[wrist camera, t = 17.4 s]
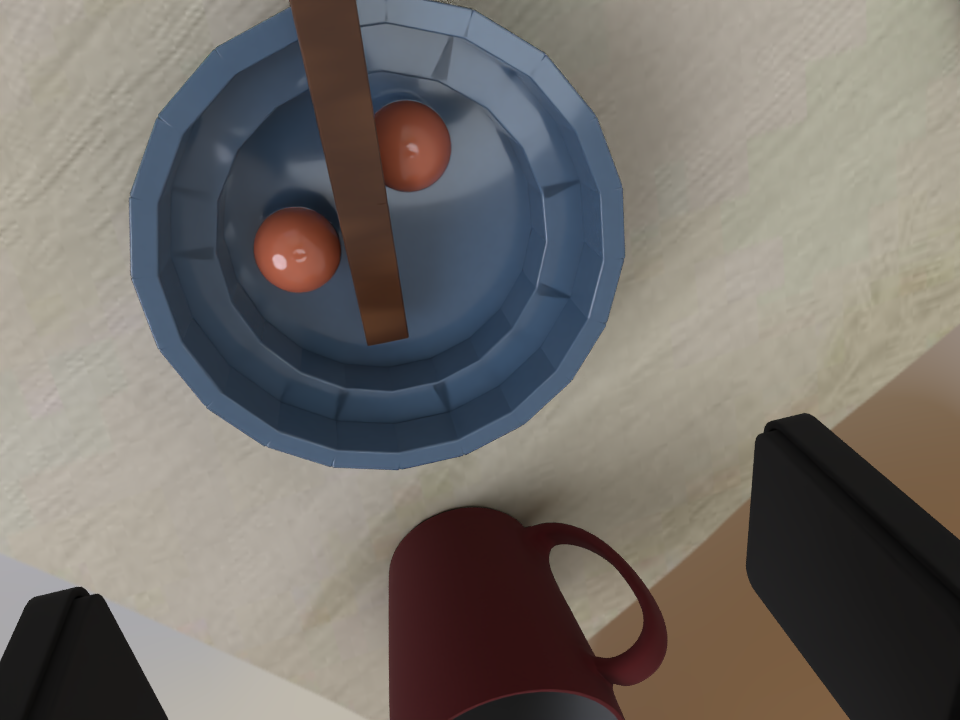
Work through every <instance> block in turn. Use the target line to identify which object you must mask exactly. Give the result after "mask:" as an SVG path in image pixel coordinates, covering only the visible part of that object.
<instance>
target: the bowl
mask: <svg viewBox="0 0 960 720" xmlns="http://www.w3.org/2000/svg"><path fill="white" fill-rule="evenodd" d="M356 3H357V9H358V15H359V22H360V28H361V34H362V41H363V47H364V53H365V60H366V66H367V73H368V79H369V85H370V92H371V98H372V104H373V111H374V113H375V112H376V111H377V110H378V109H379V108H381V107H382V106H383V105H385V104H387V103H390V102H392V101H396V100H402V99H407V100H416V101H419V102H422V103H424V104H426V105H428V106H430V107H431V108H433V109H434V110H435V111H436V112H437V113H438V114H439V115H440V116H441V117H442V118H443V120H444V122H445V123H446V125H447V127H448V129H449V132H450V136H451V141H452V153H451V159H450V162H449V165H448V167H447V169H446V171H445V173H444V174H443V176H442V177H441V178H440V179H439V180H438V181H437V182H436V183H435V184H433V185H432V186H431V187H429V188H427V189H425V190H422V191H418V192H412V193H404V192H398V191H395V190H392V189H390V188H388V187H386V186H385V187H386V193H387V200H388V206H389V212H390V219H391V225H392V231H393V238H394V244H395V251H396V257H397V263H398V270H399V276H400V282H401V289H402V295H403V301H404V308H405V314H406V320H407V327H408V333H409V338H406V339H401V340H396V341H392V342H387V343H382V344H377V345H372V346H368V345H367V342H366V337H365V333H364V328H363V324H362V320H361V315H360V311H359V306H358V302H357V297H356V293H355V289H354V284H353V280H352V275H351V271H350V267H349V262H348V258H347V253H346V249H345V245H344V240H343V236H342V231H341V227H340V222H339V218H338V214H337V209H336V205H335V200H334V196H333V192H332V187H331V183H330V178H329V174H328V170H327V165H326V161H325V156H324V152H323V147H322V143H321V139H320V134H319V130H318V125H317V121H316V117H315V112H314V108H313V103H312V99H311V95H310V90H309V86H308V81H307V77H306V72H305V68H304V64H303V59H302V55H301V50H300V46H299V42H298V37H297V33H296V28H295V24H294V20H293V15H292V11H291V6H290V7H289V8H287V9H285V10H283V11H281V12H279V13H278V14H276V15H274V16H272V17H270V18H268V19H267V20H265V21H263V22H261V23H259V24H258V25H256V26H254V27H252V28H250V29H248V30H247V31H245V32H243V33H241V34H239V35H238V36H236V37H234V38H232V39H230V40H228V41H227V42H225V43H223V44H221V45H219V46H218V47H216V48H215V49H214V50H213V51H212V52H211V53H210V54H209V55H208V56H207V58H206V59H205V60H204V61H203V62H202V63H201V65H200V66H199V67H198V68H197V69H196V71H195V72H194V73H193V74H192V75H191V76H190V78H189V79H188V80H187V81H186V82H185V84H184V85H183V86H182V87H181V88H180V89H179V91H178V92H177V93H176V94H175V95H174V96H173V98H172V99H171V100H170V101H169V102H168V104H167V105H166V106H165V107H164V108H163V109H162V111H161V112H160V113H159V114H158V117H157V118H156V120H155V123H154V126H153V129H152V132H151V135H150V137H149V140H148V143H147V146H146V149H145V152H144V155H143V157H142V160H141V163H140V166H139V169H138V172H137V174H136V177H135V180H134V183H133V186H132V189H131V192H130V197H129V228H130V273H131V277H132V278H131V280H132V282H133V285H134V288H135V290H136V293H137V295H138V298H139V301H140V303H141V306H142V308H143V311H144V314H145V316H146V319H147V321H148V324H149V327H150V329H151V332H152V335H153V337H154V340H155V342H156V345H157V348H158V349H160V352H161V353H162V354H163V355H164V357H165V358H166V359H167V360H168V362H169V363H170V364H171V365H172V366H173V368H174V369H175V370H176V371H177V373H178V374H179V375H180V376H181V377H182V379H183V380H184V381H185V382H186V383H187V385H188V386H189V387H190V388H191V390H192V391H193V392H194V393H195V394H196V396H197V397H198V398H199V399H200V401H201V402H202V403H203V404H204V405H205V406H206V408H207V409H209V410H210V411H212V412H213V413H215V414H216V415H218V416H219V417H221V418H222V419H224V420H225V421H227V422H228V423H230V424H231V425H233V426H234V427H236V428H237V429H239V430H240V431H242V432H243V433H245V434H246V435H248V436H249V437H251V438H252V439H254V440H255V441H257V442H258V443H260V444H262V445H263V446H267V447H268V448H271V449H275V450H278V451H281V452H284V453H287V454H291V455H294V456H297V457H300V458H303V459H306V460H310V461H313V462H316V463H319V464H322V465H326V466H329V467H331V466H332V467H334V468H356V469H382V470H399V468H400V469H406V468H411V467H415V466H420V465H424V464H429V463H433V462H437V461H442V460H446V459H451V458H455V457H460V456H463V455H464V454H465V455H467V454H469V453H470V452H472V451H474V450H476V449H478V448H480V447H482V446H484V445H486V444H488V443H490V442H492V441H494V440H496V439H497V438H499V437H501V436H503V435H505V434H507V433H509V432H511V431H513V430H515V429H517V428H519V427H521V426H522V425H524V424H525V423H526V422H527V421H529V420H530V419H531V418H532V417H533V416H534V415H535V414H536V413H537V412H538V411H539V410H541V409H542V408H543V407H544V406H545V405H546V404H547V403H548V402H549V401H550V400H551V399H553V398H554V397H555V396H556V395H557V394H558V393H559V392H560V391H561V390H562V389H563V388H565V387H566V386H567V385H568V384H569V383H570V382H571V380H573V378H574V376H575V375H576V373H577V372H578V370H579V368H580V367H581V365H582V363H583V362H584V360H585V359H586V357H587V355H588V354H589V352H590V351H591V349H592V347H593V346H594V344H595V343H596V341H597V339H598V338H599V336H600V334H601V333H602V331H603V330H604V328H605V326H606V323H607V321H608V317H609V313H610V310H611V306H612V302H613V299H614V295H615V292H616V288H617V284H618V281H619V277H620V273H621V270H622V266H623V262H624V258H625V239H624V211H623V188H622V184H621V181H620V178H619V175H618V173H617V170H616V167H615V165H614V162H613V159H612V156H611V154H610V151H609V148H608V146H607V143H606V140H605V137H604V135H603V132H602V129H601V127H600V124H599V121H598V118H597V117H596V115H595V113H594V112H593V111H592V110H591V108H590V107H589V106H588V105H587V103H586V102H585V101H584V100H583V99H582V97H581V96H580V95H579V94H578V92H577V91H576V90H575V89H574V87H573V86H572V85H571V84H570V83H569V81H568V80H567V79H566V78H565V76H564V75H563V74H562V73H561V71H560V70H559V69H558V68H557V67H556V65H555V64H554V63H553V62H552V60H551V59H550V58H549V57H548V56H547V55H546V54H545V53H544V52H543V51H541V50H539V49H538V48H536V47H534V46H533V45H531V44H530V43H528V42H526V41H525V40H523V39H521V38H520V37H518V36H516V35H515V34H513V33H512V32H510V31H508V30H507V29H505V28H503V27H502V26H500V25H499V24H497V23H495V22H494V21H492V20H490V19H489V18H487V17H485V16H484V15H482V14H481V13H479V12H477V11H476V10H473V9H471V8H466V7H461V6H456V5H451V4H447V3H442V2H437V1H432V0H356ZM288 206H303V207H308V208H311V209H314V210H316V211H318V212H319V213H321V214H323V215H324V216H325V217H326V218H327V219H329V221H330V222H331V223H332V224H333V225H334V227H335V228H336V230H337V232H338V234H339V237H340V240H341V245H342V258H341V262H340V265H339V268H338V270H337V272H336V274H335V275H334V277H333V278H332V279H331V280H330V281H329V282H328V283H327V284H326V285H324V286H323V287H321V288H319V289H317V290H315V291H312V292H308V293H290V292H286V291H283V290H280V289H278V288H276V287H275V286H273V285H272V284H270V283H269V282H268V281H267V280H266V279H265V278H264V277H263V276H262V274H261V273H260V271H259V270H258V268H257V266H256V263H255V260H254V256H253V240H254V236H255V233H256V231H257V229H258V227H259V225H260V224H261V222H262V221H263V220H264V219H265V218H266V217H267V216H268V215H270V214H271V213H272V212H274V211H276V210H278V209H281V208H284V207H288Z"/></svg>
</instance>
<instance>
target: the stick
mask: <svg viewBox="0 0 960 720" xmlns="http://www.w3.org/2000/svg"><path fill="white" fill-rule="evenodd" d="M289 2H290V6H291V11H292V15H293V20H294V24H295V28H296V33H297V37H298V42H299V46H300V50H301V55H302V59H303V64H304V68H305V72H306V77H307V81H308V86H309V90H310V95H311V99H312V103H313V108H314V112H315V117H316V121H317V125H318V130H319V134H320V139H321V143H322V147H323V152H324V156H325V161H326V165H327V170H328V174H329V178H330V183H331V187H332V192H333V196H334V200H335V205H336V209H337V214H338V218H339V222H340V227H341V231H342V236H343V240H344V245H345V249H346V253H347V258H348V262H349V267H350V271H351V275H352V280H353V284H354V289H355V293H356V297H357V302H358V306H359V311H360V315H361V320H362V324H363V328H364V333H365V337H366V342H367V345H368V346H372V345H377V344H382V343H387V342H392V341H396V340H401V339H406V338H409V333H408V327H407V320H406V314H405V308H404V301H403V295H402V289H401V282H400V276H399V270H398V263H397V257H396V251H395V244H394V238H393V231H392V225H391V219H390V212H389V206H388V200H387V193H386V187H385V181H384V174H383V168H382V162H381V155H380V149H379V142H378V136H377V130H376V123H375V117H374V111H373V104H372V98H371V92H370V85H369V79H368V73H367V66H366V60H365V53H364V47H363V41H362V34H361V28H360V22H359V15H358V9H357V3H356V0H289Z"/></svg>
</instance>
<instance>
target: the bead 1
mask: <svg viewBox="0 0 960 720" xmlns="http://www.w3.org/2000/svg"><path fill="white" fill-rule="evenodd" d="M253 256H254V260H255V263H256V266H257V268H258V270H259V271H260V273H261V274H262V276H263V277H264V278H265V279H266V280H267V281H268V282H269V283H270V284H272V285H273V286H275V287H276V288H278V289H280V290H283V291H286V292H290V293H308V292H312V291H315V290H317V289H319V288H321V287H323V286H324V285H326V284H327V283H328V282H329V281H330V280H331V279H332V278H333V277H334V275H335V274H336V272H337V270H338V268H339V265H340V262H341V258H342V245H341V240H340V237H339V234H338V232H337V230H336V228H335V227H334V225H333V224H332V223H331V222H330V221H329V219H327V218H326V217H325V216H324V215H323V214H321V213H319V212H318V211H316V210H314V209H311V208H308V207H303V206H288V207H284V208H281V209H278V210H276V211H274V212H272V213H271V214H270V215H268V216H267V217H266V218H265V219H264V220H263V221H262V222H261V224H260V225H259V227H258V229H257V231H256V233H255V236H254V240H253Z"/></svg>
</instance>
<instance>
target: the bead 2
mask: <svg viewBox="0 0 960 720" xmlns="http://www.w3.org/2000/svg"><path fill="white" fill-rule="evenodd" d="M374 117H375V123H376V130H377V136H378V142H379V149H380V155H381V162H382V168H383V174H384V181H385V186H386V187H388V188H390V189H392V190H395V191H398V192H404V193H412V192H418V191H422V190H425V189H427V188H429V187H431V186H432V185H433V184H435V183H436V182H437V181H438V180H439V179H440V178H441V177H442V176H443V174H444V173H445V171H446V169H447V167H448V165H449V162H450V159H451V153H452V141H451V136H450V132H449V129H448V127H447V125H446V123H445V122H444V120H443V118H442V117H441V116H440V115H439V114H438V113H437V112H436V111H435V110H434V109H433V108H431V107H430V106H428V105H426V104H424V103H422V102H419V101H416V100H407V99H402V100H396V101H392V102H390V103H387V104H385V105H383V106H382V107H381V108H379V109H378V110H377V111H376V112H375V113H374Z"/></svg>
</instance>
